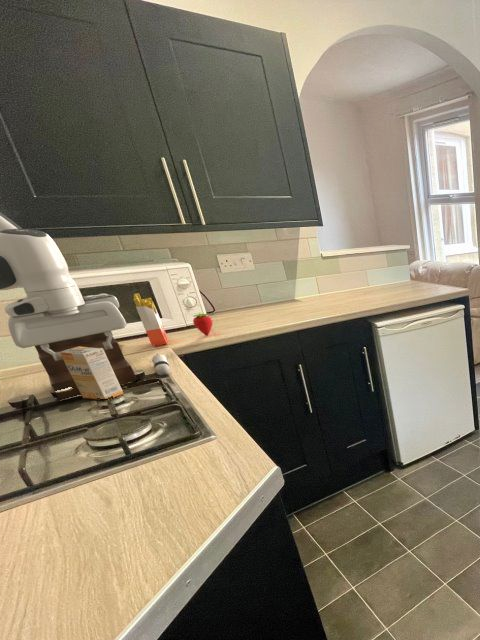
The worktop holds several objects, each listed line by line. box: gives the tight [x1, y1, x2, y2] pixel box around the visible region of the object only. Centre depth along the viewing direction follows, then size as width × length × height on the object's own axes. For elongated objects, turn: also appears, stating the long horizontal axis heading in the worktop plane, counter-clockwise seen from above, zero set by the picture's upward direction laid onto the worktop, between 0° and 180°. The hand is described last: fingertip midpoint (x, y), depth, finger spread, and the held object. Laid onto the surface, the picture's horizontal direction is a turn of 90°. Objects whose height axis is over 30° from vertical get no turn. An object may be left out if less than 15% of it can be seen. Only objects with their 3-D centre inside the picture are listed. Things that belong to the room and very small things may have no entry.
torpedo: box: [149, 345, 171, 376], centre depth 127 cm, size 18×5×7 cm, turn 42°
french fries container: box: [133, 293, 169, 347], centre depth 150 cm, size 5×11×18 cm, turn 36°
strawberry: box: [192, 313, 213, 336], centre depth 159 cm, size 6×8×10 cm
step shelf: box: [34, 332, 138, 401], centre depth 116 cm, size 16×19×18 cm
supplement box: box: [60, 346, 124, 400], centre depth 108 cm, size 8×5×13 cm, turn 76°
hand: (85, 354), depth 106 cm, fingers open, 8 cm apart
